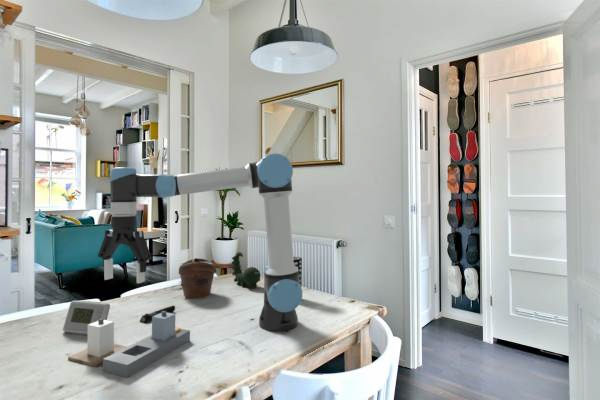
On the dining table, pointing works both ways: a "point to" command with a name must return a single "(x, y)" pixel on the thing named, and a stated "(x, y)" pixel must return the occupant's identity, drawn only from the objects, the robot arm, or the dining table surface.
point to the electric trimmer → (148, 317)
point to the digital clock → (84, 316)
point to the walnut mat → (93, 360)
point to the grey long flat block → (143, 353)
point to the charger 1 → (100, 337)
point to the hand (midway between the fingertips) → (124, 280)
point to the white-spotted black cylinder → (298, 266)
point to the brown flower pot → (197, 277)
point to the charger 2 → (163, 326)
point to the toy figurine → (245, 273)
